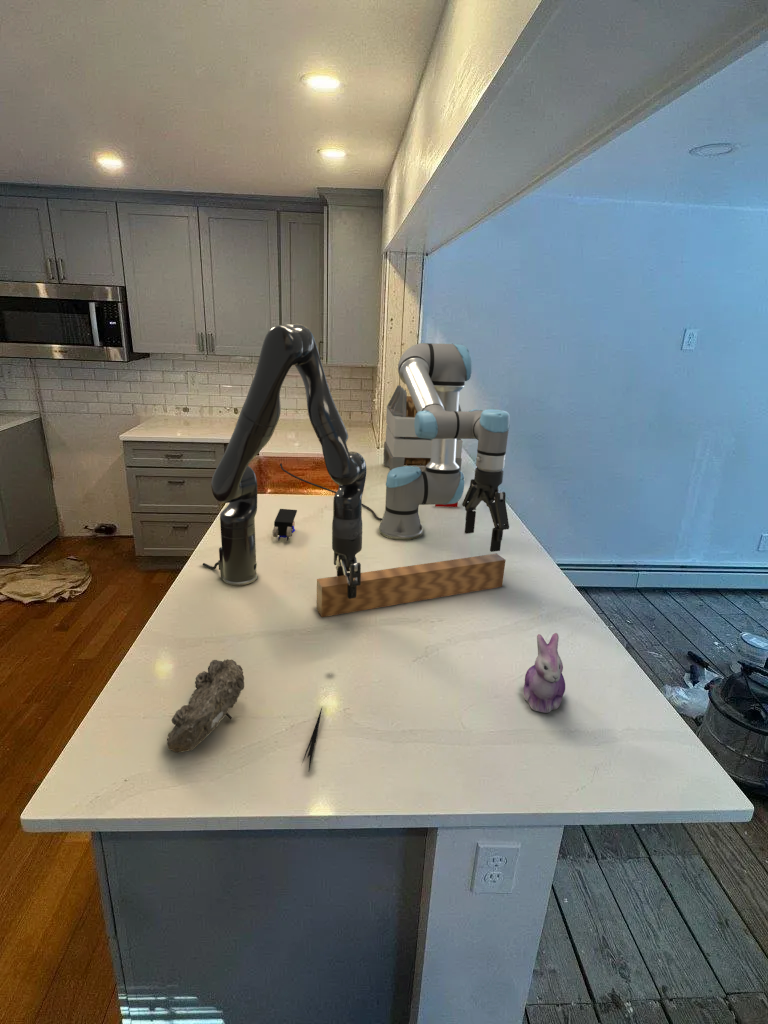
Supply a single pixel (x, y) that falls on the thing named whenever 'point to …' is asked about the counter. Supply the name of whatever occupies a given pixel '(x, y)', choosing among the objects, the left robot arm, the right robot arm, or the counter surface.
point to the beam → (410, 584)
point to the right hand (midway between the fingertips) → (481, 541)
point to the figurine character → (284, 523)
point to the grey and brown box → (407, 435)
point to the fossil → (206, 705)
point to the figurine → (545, 677)
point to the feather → (313, 740)
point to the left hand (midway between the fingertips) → (346, 590)
